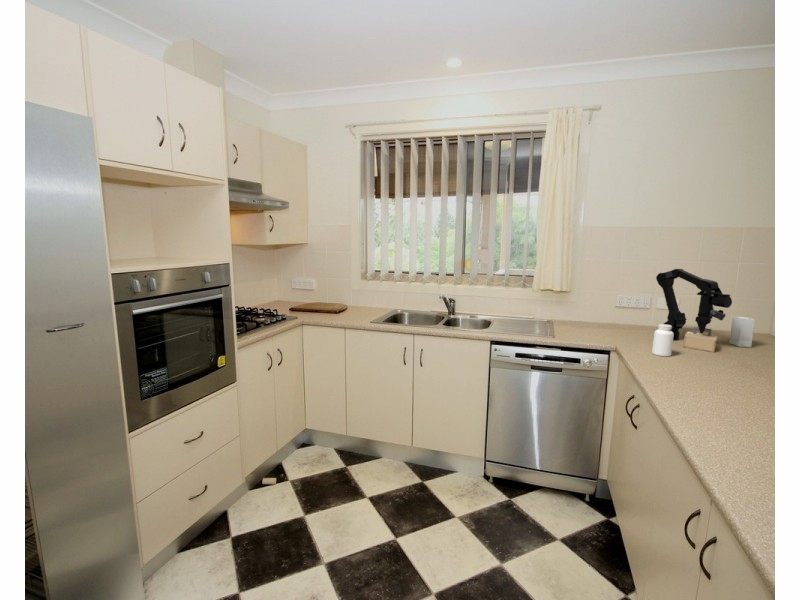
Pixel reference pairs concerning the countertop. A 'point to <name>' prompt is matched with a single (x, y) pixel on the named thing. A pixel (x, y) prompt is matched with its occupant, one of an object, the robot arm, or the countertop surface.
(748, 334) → the skincare box
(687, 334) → the beige handled lid
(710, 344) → the wooden drawer
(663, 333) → the pill bottle
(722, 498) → the countertop surface
